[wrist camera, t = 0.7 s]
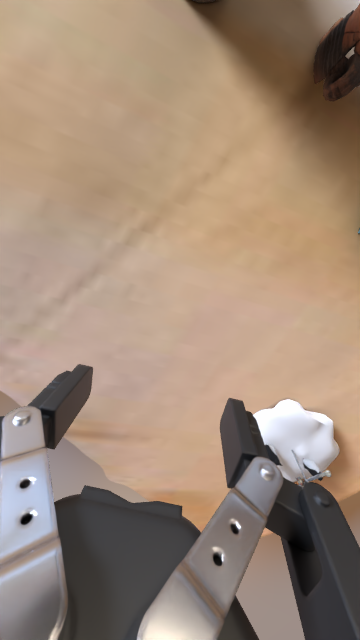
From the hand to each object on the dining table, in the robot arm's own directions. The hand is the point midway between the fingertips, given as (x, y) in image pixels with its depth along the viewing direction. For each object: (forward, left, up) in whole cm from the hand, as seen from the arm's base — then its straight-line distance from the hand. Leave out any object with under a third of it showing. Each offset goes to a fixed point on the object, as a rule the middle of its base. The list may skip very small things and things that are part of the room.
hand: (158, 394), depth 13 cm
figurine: (+25, +29, -27) cm, 47 cm away
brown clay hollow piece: (-35, +18, -27) cm, 48 cm away
